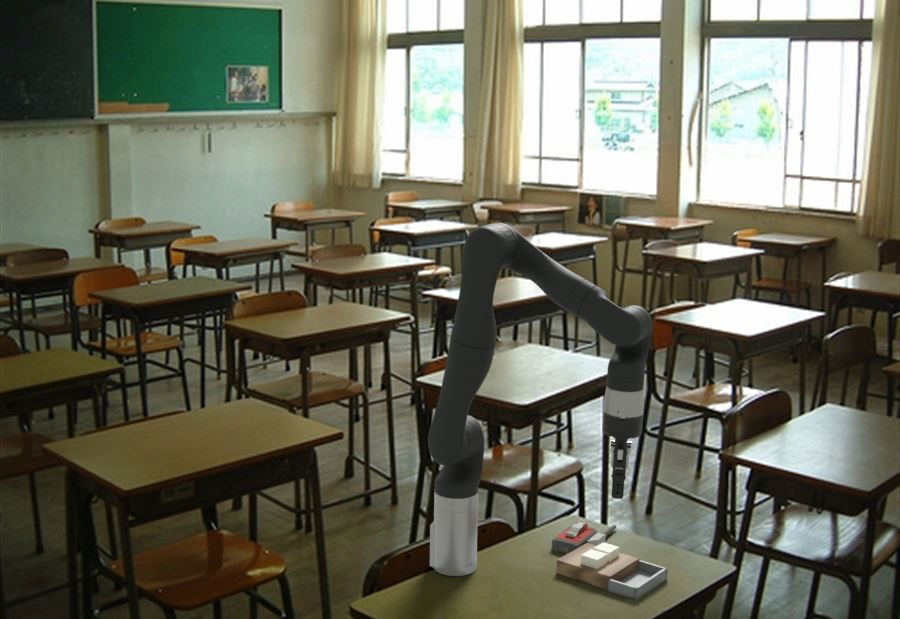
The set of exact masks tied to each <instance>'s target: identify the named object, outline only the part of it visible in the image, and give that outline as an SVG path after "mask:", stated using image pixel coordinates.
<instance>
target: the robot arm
mask: <svg viewBox="0 0 900 619" xmlns="http://www.w3.org/2000/svg"><path fill="white" fill-rule="evenodd" d="M461 263H462V264H461V276H460V286H459V287H460V288H459V294H458V299H457V305H456V308H455V309H456V310H455V314H454V321H453V326H452V329H451V334H450V340H449V344H448V350H447V355H446V356H447V357H446V362H445V363H446V364H445V369H444V372H443V378H442V382H441V383H442V384H441V386H440V387H441V388H440V393H439V397H438V400H437V403H436V404H437V405H436V408H435V411H434V413H433V414H434V415H433V417H432V420H431V423H430V426H429V427H430V428H429V431H428V436H427V448H428V451H429V454H430V457H431V458H432V459H433V460H434V462H436V464H439V465H441V466H443V468H442V469H441V470H440V472H439V473H438V474H437V476H436V477H435V479H434V488H433V489H434V492H433V493H434V497H433V498H434V500H433V501H434V502H433V504H434V507H433V508H434V510H433V511H434V512H433V517H434V518H433V522H431V524H430V525H429V535H430V536H429V567H430V568H431V567H432V568H433V569H434V571H435V572H437V573H439V574H441V575H444V576H449V577H462V576H466V575H467V576H468V575H470V574H473V573H474V572H475V571H476V570H477V563H478V561H477V557H478V554H477V553H478V516H479V515H478V514H479V512H478V508H479V507H478V506H479V485H480V482H481V479H482V477H483V470H484V457H485V456H484V454H485V434H484V431H483V428H482V426H481V424H480V422H479V421H478V420H477V418H475V417H473V416H472V415H469V410H470V407H471V405H472V403H473V400H474V399H475V397H476V395H477V393H478V392H479V390H480V388H481V387H482V385H483V383H484V381H485V380H486V377H487V376H488V373H489V372H490V369H491V366H492V362H493V360H494V359H493V358H494V354H495V350H496V344H497V339H498V338H497V334H498V332H497V331H498V329H497V321H496V317H495V316H496V315H495V312H494V295H495V290H496V285H497V283H498V282H497V281H498V278H499V274H500V272H501V270H503V269H507V270H510V271H513V272H515V273H517V274H520V275H522V276H524V277H525V278H527V279H528V280H530V281H531V282H533V284H535V285H536V286H537V287H539V289H540V290H541V291H542V292H543V293H544V294H545V295H546V296H547V297H548V298H549V299H550V300H551V301H552V302H553V303H554V304H555V305H556V306H558V307H560V308H562V309H563V310H565V311H566V312H568V313H570V314H571V315H573V316H575V317H577V318H578V319H579V320H581V321H583V322H586V323H587V325H589V326H590V327H591V329H593V330H594V331H595V332H596V333H597V334H598V335H600V337H602V338H603V339H605V340H606V341H607V342H609V343H611V344H612V345H614V346H615V348H614V353H613V354H612V357H611V358H610V359H609V362H608V364H607V372H606V373H607V376H606V388H605V392H604V399H603V413H602V414H603V416H602V427H601V430H602V433H603V434H604V435H606V436H608V437H611V438H614V439H611V440H610V450H609V452H610V468H612V472H611V473H612V474H611V476H610V477H611V480H612V484H611V485H612V486H611V498H613V499H618V500H619V499H620V500H622V499H623V498H624V491H625V481H626V478H627V476H626V470H628V469H629V466H630V464H629V463H630V456H631V454H632V441H628V440H630V439H636V438H639V437H640V436H641V435H642V432H643V421H644V408H645V407H644V406H645V405H644V404H645V396H644V387H645V373H646V370H645V367H646V366H645V365H646V362H647V358H648V355H649V350H650V345H651V342H652V336H653V320H652V318H651V315H650V313H649V311H647V310H646V308H644V307H643V306H640V305H636V304H635V305H628V306H625V307H623V308H622V307H620V305H617V304H616V303H614V302H613V301H612V300H610V297H609V295H608V293H607V292H606V291H605V290H604V289H602V288H601V287H599V286H597V285H595V284H594V283H593V282H591V281H589V280H587V279H585V278H584V277H582V276H580V275H578V274H576V272H573V271H571V270H570V269H568V268H566V267H565V266H563V265H562V264H560V263H559V262H557V261H556V260H555V259H553V258H552V257H550V256H549V255H547V254H546V253H544V252H543V251H542V250H541V249H539V248H538V247H537V246H535V245H534V244H533V243H532V242H530V241H529V240H528V239H527V238H526V237H525V236H523V235H522V234H521V233H519V231H517V230H516V229H515V228H514V227H512V226H510V225H508V224H507V223H505V222H504V223H503V222H492V223H488V224H485V225H482V226H478V227H476V228H474V229H473V230H472V231H470V233H469V234H468V236H467V237H466V239H465V242H464V246H463V251H462V262H461Z"/></svg>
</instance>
